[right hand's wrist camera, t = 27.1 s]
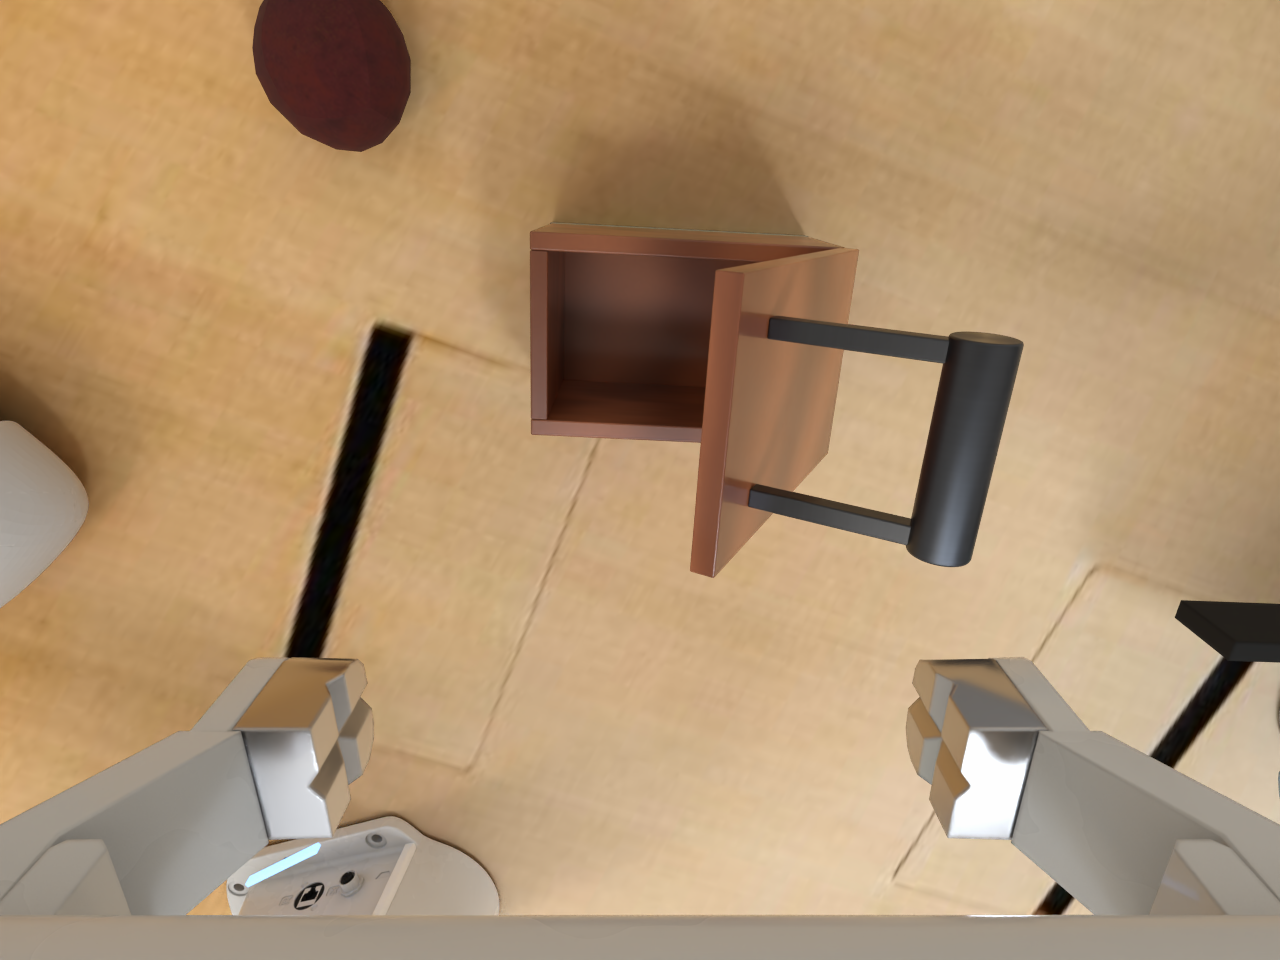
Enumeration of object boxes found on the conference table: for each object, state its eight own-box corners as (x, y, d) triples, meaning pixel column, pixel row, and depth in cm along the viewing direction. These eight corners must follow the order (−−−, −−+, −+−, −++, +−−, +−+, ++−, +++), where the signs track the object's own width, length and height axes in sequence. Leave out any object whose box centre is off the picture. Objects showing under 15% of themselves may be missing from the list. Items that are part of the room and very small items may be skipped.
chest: (551, 389, 46) (530, 435, 37) (551, 222, 42) (529, 230, 34) (784, 400, 46) (817, 448, 38) (805, 235, 42) (846, 247, 34)
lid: (689, 571, 25) (950, 647, 21) (714, 269, 21) (1035, 302, 18) (810, 450, 37) (986, 485, 34) (839, 247, 34) (1040, 264, 30)
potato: (408, -19, 38) (359, -63, 31) (443, 144, 40) (405, 136, 34) (270, 3, 38) (193, -36, 31) (314, 164, 41) (252, 159, 34)
